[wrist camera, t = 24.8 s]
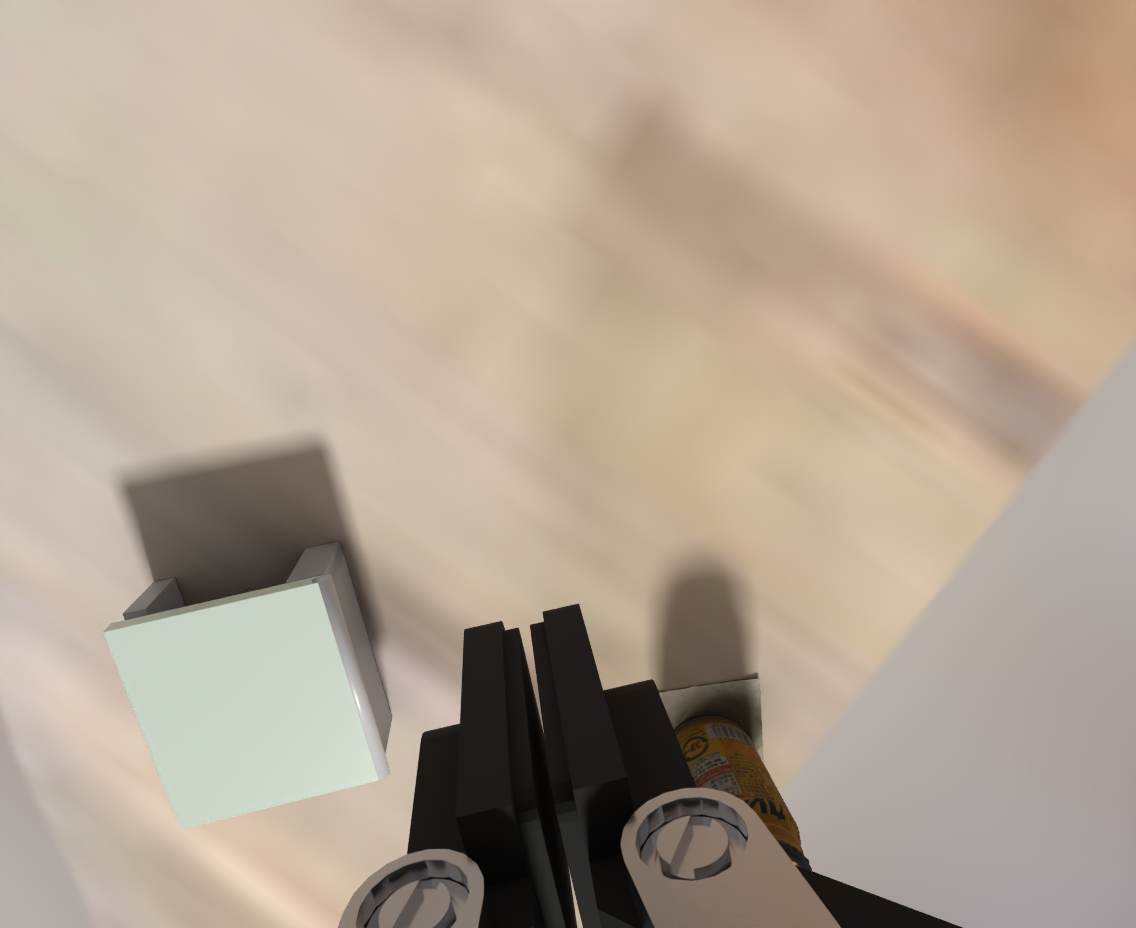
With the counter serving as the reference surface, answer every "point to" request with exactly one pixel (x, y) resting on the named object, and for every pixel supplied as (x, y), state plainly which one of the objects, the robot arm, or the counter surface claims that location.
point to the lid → (250, 700)
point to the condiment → (732, 751)
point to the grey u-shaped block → (308, 566)
